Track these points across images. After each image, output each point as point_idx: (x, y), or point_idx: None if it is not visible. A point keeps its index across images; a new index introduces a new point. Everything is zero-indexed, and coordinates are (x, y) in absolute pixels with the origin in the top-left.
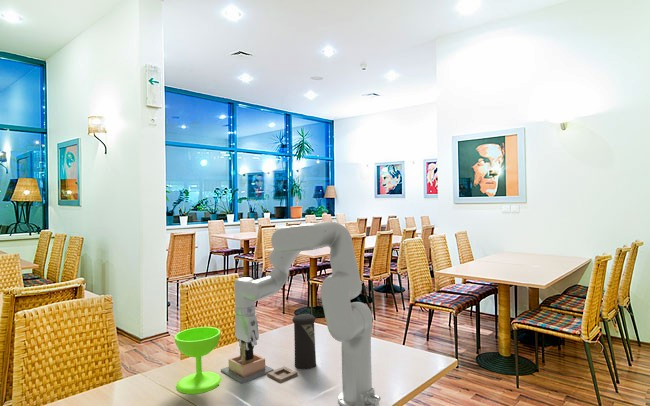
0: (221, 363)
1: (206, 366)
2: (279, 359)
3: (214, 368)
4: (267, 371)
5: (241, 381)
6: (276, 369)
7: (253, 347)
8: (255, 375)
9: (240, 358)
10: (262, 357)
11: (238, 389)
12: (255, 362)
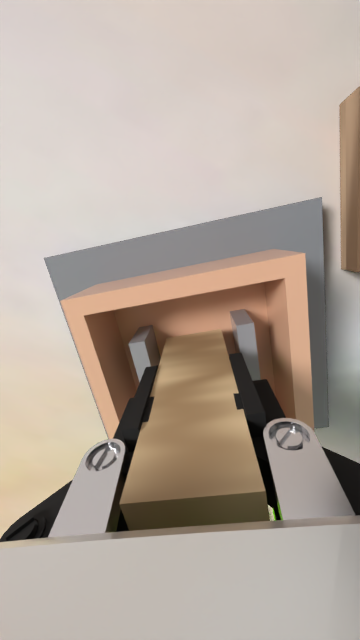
0: (6, 403)
1: (14, 463)
2: (116, 34)
3: (54, 445)
4: (321, 254)
5: (326, 426)
6: (357, 182)
7: (312, 436)
8: (317, 343)
9: (118, 391)
10: (260, 263)
11: (352, 440)
12: (309, 355)
